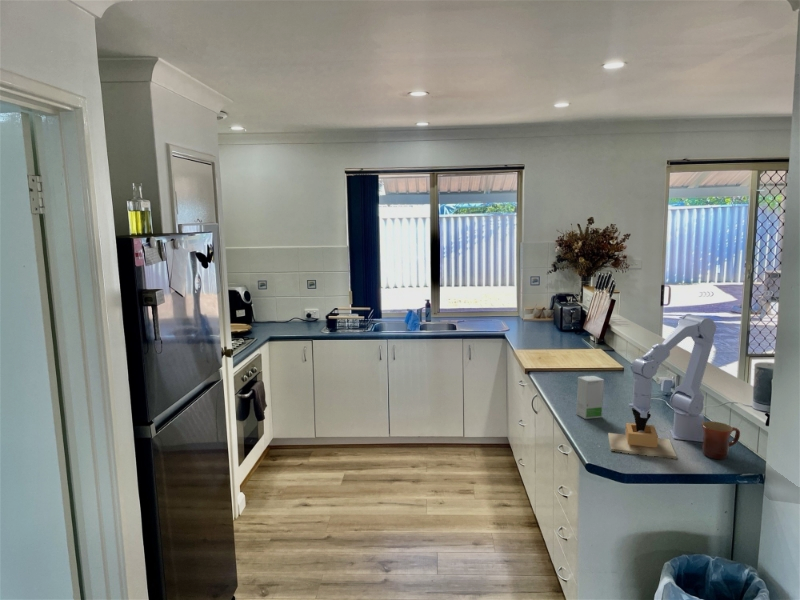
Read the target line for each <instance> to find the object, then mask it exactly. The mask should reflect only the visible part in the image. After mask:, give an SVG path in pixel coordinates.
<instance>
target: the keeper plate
mask: <svg viewBox="0 0 800 600" xmlns="http://www.w3.org/2000/svg"><path fill="white" fill-rule="evenodd" d="M638 432H639V433H645V432H644V431H642V430H640V431H638ZM607 438H608V445H609V450H610V452H611V451H615V452H614V453H620V452H622V453H621V454H628V453H629V455H637V454H639V455H640V456H645V455H647V456H648V457H654V456H659V457H658V458H663V457H667V458H666V459H671V458H673V459H672V460H677V458H678V457H677V454H676V451H675V449H674V447H673V445H672V443H671V441H670V439H669V438H659V437H658V443H657V447H649V446H639V445H630V444H628V442H627V438H626V434H621V433H613V432H608V433H607ZM639 455H638V456H639Z"/></svg>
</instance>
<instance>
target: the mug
mask: <svg viewBox="0 0 800 600" xmlns="http://www.w3.org/2000/svg"><path fill="white" fill-rule="evenodd" d="M702 427H703V432H704V436H703V442H702V446H701V448H702V449H701V450H702V453H703V454H704V456H706V457H707V458H710V459H713V460H725V459H726V458H728V456H729V451H730V450H729V447H733V446H734V445H736V444H737V443H738V442H739V439H740V436H741V432H740V430H739V429H738V428H737V427H732V426H731V425H728V424H727V423H723V422H719V421H711V420H710V421H707V420H706V421H704V422H703V423H702ZM733 432H735V434H734V438H733V439H732V440H731V441H730V437H731V434H732V433H733Z"/></svg>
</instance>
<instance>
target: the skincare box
mask: <svg viewBox="0 0 800 600" xmlns="http://www.w3.org/2000/svg"><path fill="white" fill-rule="evenodd" d="M576 391H577V392H576V394H577V395H576V409H575V414H576V415H577V416H579V417H580V418H582V419H584V420H587V419H601V418H603V405H604V391H605V379H604V378H601V377H599V376H596V375H591V376H590V375H584V376H578V377H577V390H576Z"/></svg>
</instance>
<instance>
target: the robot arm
mask: <svg viewBox="0 0 800 600" xmlns="http://www.w3.org/2000/svg"><path fill="white" fill-rule="evenodd" d="M677 322H678V323H677V326H676V327H675V328H674V329H673V330H672V332H671V333H670V334H669V335H668V336H666V338H665V339H664V340H663V341H662V343H656V344H653V345H652V346H651V348H650V349H649V350H648V351H647V352H646V353H645V354H643V355H642V356H641V357H638V358H636V359H635V360H633V361H632V364H631V365H630V370H631V372H632V377H633V388H632V389H633V390H632V391H633V392H632V402H631V403H630V402H629V403H628V407H629V408H631V412H632V415H633V418H634V424H636V429H637V432H638V431H640V430H642V431H644V430H645V426H646V425H647V424H648V422H649V419H650V418H651V416H652V415H651V413H650V411H651V409H652V406H651V403H652V389H653V387H652V386H653V377H654V376H656V375H657V372H658V369H659V368H660V365H662V363H663V362H665V361H666V360H667V359H668V358H669V357H670V355H671V350H672V349H674V348H675V347H676V346H677V345H678V344H680V343H682V341H684V340H685V339H686V338H689V337H690V338H691V339H692V341H693V346H692V351H691V354H690V357H689V360H688V364H687V367H686V371H685V374H684V378H683V381H682V383H681V384H680V385H678V386H676V387H675V389H674V391H673V393H672V394H671V395H670V397H669V398H670V399H669V403H670V406H671V407H672V410H673V411H674V414H673V427H672V429H670V430H669V432H670V433H671V436H672V438H673V439H674V440H679V441H691V442H701V443H703V436H704V432H703V427H702V423H703V422H705V417H704V414H702V412H703V409H704V399H705V396H704V394H703V393H702V391H701V389H700V388H701V384H702V380H703V377H704V374H705V371H706V367H707V364H708V361H709V358H710V354H711V351H712V348H713V344H714V337H715V334H716V330H717V328H718V327H717V324H716V323H715V321H714V319H712V318H711V317H705V316H698V315H694V314H691V313H686V314H684V315H683V316H682V317H681V318H680V319H679V320H678V321H677Z"/></svg>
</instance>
